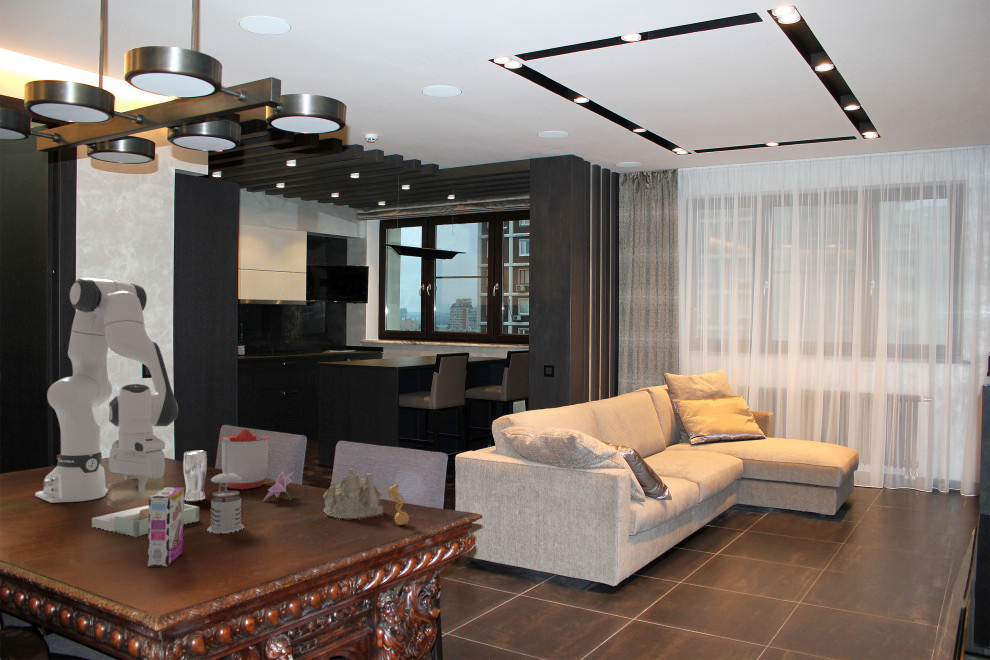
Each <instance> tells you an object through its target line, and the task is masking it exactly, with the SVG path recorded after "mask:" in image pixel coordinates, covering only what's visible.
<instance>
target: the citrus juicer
mask: <svg viewBox="0 0 990 660" xmlns="http://www.w3.org/2000/svg"><path fill="white" fill-rule="evenodd" d="M224 438H229V439H230V442H227V472H228V473H233V474H236V475H238V476H240V477H241V478H242V479H241V481H239V482H235V483H228V485H227V488H229V489H235V490H237V489H239V490H240V489H241V491H244V489H246V490H247V489H253V488H260V487H262V485H263V483H264V482H265V478H266V474H267V471H268V462H269V461H268V460H269V459H268V458H269V450H270V445H269V440H268V439H269V435H266V436H264V437H263V438H262V439H257V434H254V433H252V432H251V431H250V430H249V429H247V428H243V429H242V430H241V431H240V432H239V433H238V434H234V435H233V434H231V435H226V436H223V437H221V438H220V439H221V440H220V441H221V470H222V473H225V472H226V443H224V442H223V440H224Z"/></svg>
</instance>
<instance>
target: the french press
mask: <svg viewBox="0 0 990 660" xmlns="http://www.w3.org/2000/svg"><path fill="white" fill-rule="evenodd" d="M223 442H224V443H226V472H225V473H223V472H222V473H219V474H217V475H214V476H213V477H211V479H210V481H211V482H212V483H214V484H219V486H218V491H215V492H213V493H212V496H213V498H211V499H210V506H211V507H210V525H209V527H208V528H207V530H206V532H208V531H209V532H208V533H211V532H213V533H212V534H220V533H222V534H231V533H230V532H232V533H236V532H235V531H237V532H240V531H239V530H241V529H242V530H244V529H245V526H244V525H243V523H242V497H241V496H239V495H240V494H241V493H240V491H238V490H227V489H228V487H227V485H228V483H235V482H239V481H241V479H242V478H241V477H240V476H238V475H236V474H233V473H228V472H227V442H230V439H229V438H224V440H223ZM223 484H225V485H223ZM221 487H222V488H224V490H221ZM223 500H224V502H223ZM243 528H244V529H243ZM242 530H241V531H242Z"/></svg>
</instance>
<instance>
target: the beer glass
mask: <svg viewBox="0 0 990 660" xmlns="http://www.w3.org/2000/svg"><path fill="white" fill-rule="evenodd" d="M207 461H208V459H207V451H205V450H189V451H184V453H183V466H182V467H183V475H184V477H183V478H184V483H185V493H184V501H185V500H186V502H198V501H199V500H200V501H203V499H204V500H205V499H206V494H205V490H204V489H205V487H204V486H205V481H206V476H207V470H208V466H207V465H208V463H207Z"/></svg>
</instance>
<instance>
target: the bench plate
mask: <svg viewBox="0 0 990 660" xmlns="http://www.w3.org/2000/svg"><path fill="white" fill-rule="evenodd" d="M148 508H149V504H148V505H142V506H139V507H136V508H135V507H134V508H129V509H125V510H121V511H117V512H113V513H108V514H104V515H99V516H96V517H92V518H91V528H94V527H96V528H95V529H98V528H101V529H100V530H102V529H104V530H103V531H107V530H108V532H111V531H113V532H112V533H115V532H114V520H115V517H122V518H126V519H131V520H135V521H138V520H142V519H141V518H140V517H139V513H140V510H143V509H148Z"/></svg>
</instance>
